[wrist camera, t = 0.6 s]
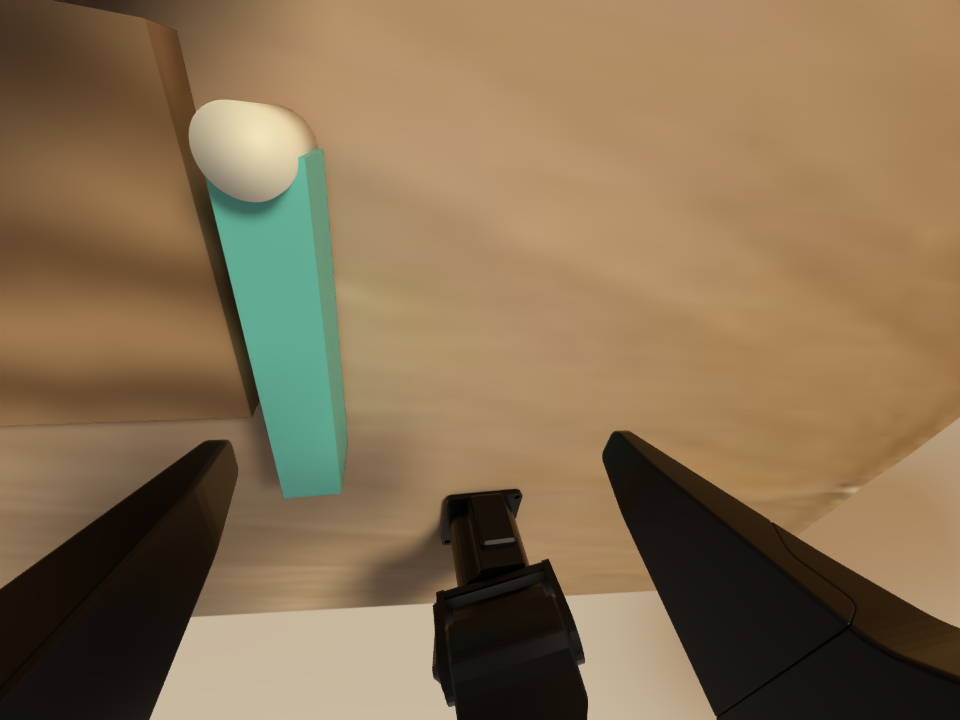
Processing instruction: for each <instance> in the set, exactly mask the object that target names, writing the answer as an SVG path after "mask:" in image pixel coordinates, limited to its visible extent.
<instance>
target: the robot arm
mask: <svg viewBox="0 0 960 720" xmlns="http://www.w3.org/2000/svg"><path fill="white" fill-rule="evenodd" d="M602 459H603V463H604V466H605V469H606V471H607V474H608V477H609V480H610V483H611V486H612V488H613V491H614V494H615V497H616V500H617V503H618V505H619V508H620V511H621V513H622V516H623V518H624V520H625V522H626V525H627V527H628V529H629V531H630V533H631V535H632V538H633V540H634V542H635V544H636V546H637V548H638V551H639V553H640V555H641V557H642V559H643V561H644V563H645V566H646V568H647V570H648V572H649V574H650V576H651V579H652V581H653V583H654V585H655V587H656V589H657V591H658V594H659V596H660V598H661V600H662V602H663V604H664V606H665V609H666V611H667V613H668V615H669V617H670V619H671V622H672V624H673V626H674V628H675V630H676V632H677V634H678V637H679V639H680V641H681V643H682V645H683V647H684V650H685V652H686V654H687V656H688V658H689V660H690V662H691V664H692V667H693V669H694V671H695V673H696V675H697V677H698V679H699V682H700V684H701V686H702V688H703V690H704V693H705V695H706V697H707V699H708V701H709V703H710V706H711V708H712V710H713V712H714V714H715V716H717V720H960V628H958V627H955V626H953V625H950V624H948V623H946V622H943V621H941V620H939V619H937V618H935V617H933V616H931V615H929V614H927V613H925V612H923V611H922V610H920V609H918V608H916V607H914V606H913V605H911V604H909V603H908V602H906V601H904V600H902V599H901V598H899V597H897V596H896V595H894V594H892V593H890V592H889V591H886V590H885V589H883V588H882V587H880V586H878V585H876V584H875V583H873V582H871V581H870V580H868V579H866V578H864V577H863V576H861V575H859V574H857V573H856V572H854V571H852V570H850V569H849V568H847V567H845V566H844V565H842V564H840V563H838V562H837V561H835V560H833V559H831V558H830V557H828V556H827V555H825V554H823V553H821V552H820V551H818V550H816V549H815V548H813V547H812V546H810V545H808V544H807V543H805V542H804V541H802V540H800V539H799V538H797V537H795V536H794V535H792V534H791V533H789V532H787V531H786V530H784V529H783V528H781V527H780V526H778V525H777V524H775V523H773V522H770V520H769V519H767V518H765V517H764V516H762V515H761V514H759V513H758V512H756V511H754V510H753V509H751V508H750V507H748V506H747V505H745V504H743V503H742V502H740V501H739V500H737V499H735V498H734V497H732V496H731V495H729V494H728V493H726V492H724V491H723V490H721V489H720V488H718V487H717V486H715V485H713V484H712V483H710V482H709V481H707V480H706V479H704V478H702V477H701V476H699V475H698V474H696V473H695V472H693V471H691V470H690V469H688V468H687V467H685V466H684V465H682V464H680V463H679V462H677V461H676V460H674V459H673V458H671V457H669V456H668V455H666V454H665V453H663V452H662V451H660V450H658V449H657V448H655V447H654V446H652V445H651V444H649V443H647V442H646V441H644V440H643V439H641V438H640V437H638V436H636V435H635V434H633V433H632V432H630V431H614V432H613V433H612V434H611V436H610V438H609V440H608V442H607V444H606V446H605V449H604V451H603V454H602ZM237 477H238V466H237V462H236V458H235V454H234V450H233V447H232V444H231V442H230V441H229V440H207V441H205V442H203V443H201V444H200V445H198V446H197V447H196V448H194V449H193V450H191V451H190V452H189V453H187V454H186V455H185V456H183V457H182V458H180V459H179V460H178V461H176V462H175V463H173V464H172V465H171V466H169V467H168V468H167V469H165V470H164V471H162V472H161V473H160V474H158V475H157V476H156V477H154V478H153V479H151V480H150V481H149V482H147V483H146V484H144V485H143V486H142V487H140V488H139V489H138V490H136V491H135V492H133V493H132V494H131V495H129V496H128V497H127V498H125V499H124V500H122V501H121V502H120V503H118V504H117V505H115V506H114V507H113V508H111V509H110V510H109V511H107V512H106V513H104V514H103V515H102V516H100V517H99V518H98V519H96V520H95V521H93V522H92V523H91V524H89V525H88V526H86V527H85V528H84V529H82V530H81V531H80V532H78V533H77V534H75V535H74V536H73V537H71V538H70V539H69V540H67V541H66V542H64V543H63V544H62V545H60V546H59V547H58V548H56V549H55V550H53V551H52V552H51V553H49V554H48V555H46V556H45V557H44V558H42V559H41V560H40V561H38V562H37V563H35V564H34V565H33V566H31V567H30V568H29V569H27V570H26V571H24V572H23V573H22V574H20V575H19V576H17V577H16V578H15V579H13V580H12V581H11V582H9V583H8V584H6V585H5V586H4V587H2V588H1V589H0V720H149V719H150V717H151V714H152V712H153V709H154V707H155V704H156V702H157V699H158V697H159V694H160V692H161V689H162V687H163V685H164V682H165V680H166V677H167V675H168V672H169V670H170V667H171V665H172V662H173V660H174V657H175V655H176V652H177V649H178V647H179V645H180V642H181V640H182V637H183V635H184V632H185V630H186V628H187V625H188V623H189V620H190V618H191V615H192V613H193V610H194V608H195V605H196V603H197V600H198V598H199V595H200V593H201V590H202V588H203V585H204V583H205V580H206V578H207V575H208V573H209V570H210V568H211V566H212V563H213V560H214V558H215V555H216V552H217V549H218V546H219V542H220V539H221V536H222V532H223V528H224V525H225V521H226V517H227V514H228V510H229V507H230V503H231V499H232V496H233V492H234V488H235V485H236V481H237ZM521 499H522V493H521V491H520V490H506V491H495V492H484V493H474V494H463V495H453V496H450V497H448V498H447V500H446V508H445V515H444V522H443V530H442V537H441V539H442V544H443V545H450V544H452V551H453V558H454V564H455V571H456V578H457V585H458V587H456V588H453V589H450V590H446V591H444V590H442V591H438V592H436V597H437V602H436V603H435V604H434V605H433V613H434V625H435V638H434V652H433V666H432V671H433V677H434V679H435V680H437V681H438V682H439V683H440V684H441V687H442V690H443V692H444V695H445V699H446V702H447V704H448V706H449V707H452V706H455V707H456V715H457V720H587V711H588V697H587V693H586V690H585V687H584V684H583V681H582V677H581V674H580V671H579V668H578V665H581V664H584V663H585V658H584V652H583V648H582V644H581V641H580V637H579V634H578V631H577V628H576V625H575V622H574V619H573V616H572V614H571V611H570V609H569V606H568V604H567V602H566V599H565V597H564V594H563V592H562V590H561V587H560V585H559V583H558V580H557V578H556V575H555V573H554V571H553V568H552V566H551V564H550V561H549V559H545V560H542V562H540V563H537V564H533V565H529V562H528V559H527V556H526V553H525V549H524V546H523V543H522V540H521V537H520V534H519V530H518V527H517V524H516V521H515V518H516V515H517V512H518V509H519V506H520V502H521Z"/></svg>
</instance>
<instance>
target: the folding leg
mask: <svg viewBox="0 0 960 720" xmlns="http://www.w3.org/2000/svg"><path fill="white" fill-rule="evenodd" d="M189 144H190V149H191V152H192V155H193V157H194V159H195V162H196V163H197V165H198V167H199V168H200V170H201V171H202V173H203V174H204V175H205V178H206V182H207V186H208V190H209V194H210V198H211V202H212V207H213V211H214V215H215V219H216V223H217V227H218V231H219V235H220V239H221V243H222V247H223V252H224V256H225V260H226V264H227V268H228V272H229V276H230V280H231V284H232V288H233V292H234V297H235V301H236V305H237V309H238V313H239V317H240V321H241V325H242V329H243V333H244V338H245V342H246V346H247V350H248V354H249V358H250V362H251V366H252V370H253V374H254V378H255V383H256V387H257V391H258V395H259V399H260V403H261V407H262V411H263V415H264V419H265V423H266V428H267V432H268V436H269V440H270V444H271V448H272V452H273V456H274V460H275V464H276V468H277V473H278V477H279V481H280V485H281V489H282V493H283V497H284V498H296V497H307V496H319V495H331V494H341V493H342V485H343V477H344V469H345V461H346V453H347V446H348V438H347V426H346V415H345V403H344V391H343V379H342V367H341V355H340V344H339V332H338V320H337V308H336V296H335V284H334V272H333V261H332V249H331V237H330V225H329V213H328V201H327V190H326V178H325V166H324V154H323V149H318V146H317V142H316V138H315V136H314V133H313V132H312V130H311V128H310V127H309V125H308V124H307V123H306V121H305V120H304V119H303V118H302V117H301V116H299V115H298V114H297V113H295V112H294V111H292V110H290V109H288V108H286V107H283V106H279V105H271V104H262V103H253V102H244V101H235V100H216V101H212V102H209V103H207V104H205V105H203V106H202V107H201V108H200V109H199V110H198V111H197V112H196V113H195V114H194V116H193V118H192V120H191V123H190V127H189Z"/></svg>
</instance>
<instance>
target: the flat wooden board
mask: <svg viewBox="0 0 960 720" xmlns="http://www.w3.org/2000/svg"><path fill="white" fill-rule="evenodd" d="M195 113H196V111H195V107H194V103H193V99H192V95H191V90H190V86H189V82H188V78H187V73H186V69H185V65H184V61H183V57H182V52H181V48H180V44H179V40H178V35H177V31H175V30H172V29H170V28H168V27H165V26H163V25H160V24H158V23H155V22H153V21H150V20H148V19H145V18H141V17H136V16H131V15H126V14H121V13H115V12H110V11H105V10H100V9H95V8H90V7H85V6H79V5H74V4H69V3H64V2H59V1H54V0H0V426H9V425H39V424H68V423H97V422H127V421H156V420H185V419H215V418H244V417H252V416H253V413H254V411H255V409H256V407H257V405H258V403H259V400H260V399H259V395H258V391H257V387H256V383H255V378H254V374H253V370H252V366H251V362H250V358H249V354H248V350H247V346H246V342H245V338H244V333H243V329H242V325H241V321H240V317H239V313H238V309H237V305H236V301H235V297H234V292H233V288H232V284H231V280H230V276H229V272H228V268H227V264H226V260H225V256H224V252H223V247H222V243H221V239H220V235H219V231H218V227H217V223H216V219H215V215H214V211H213V207H212V202H211V198H210V194H209V190H208V186H207V182H206V178H205V175H204V174H203V173H202V171H201V170H200V168H199V167H198V165H197V163H196V162H195V159H194V157H193V155H192V152H191V149H190V144H189V127H190V123H191V120H192V118H193V116H194V114H195Z"/></svg>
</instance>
